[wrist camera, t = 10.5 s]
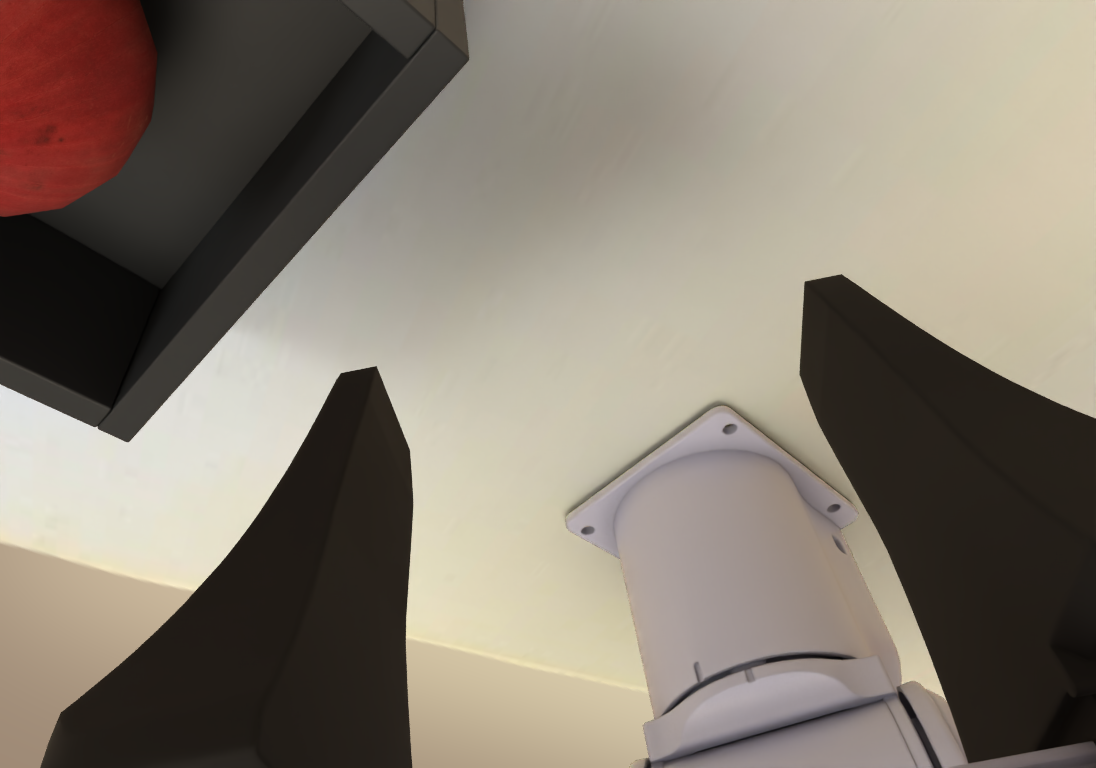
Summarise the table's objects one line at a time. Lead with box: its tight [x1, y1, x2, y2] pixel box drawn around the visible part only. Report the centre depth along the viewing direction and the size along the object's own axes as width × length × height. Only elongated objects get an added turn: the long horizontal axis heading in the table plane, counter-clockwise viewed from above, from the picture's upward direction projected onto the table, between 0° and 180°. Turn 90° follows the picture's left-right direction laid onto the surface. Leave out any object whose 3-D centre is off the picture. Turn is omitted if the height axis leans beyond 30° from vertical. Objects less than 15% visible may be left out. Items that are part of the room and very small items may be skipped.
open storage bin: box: [0, 0, 469, 442], centre depth 17 cm, size 13×13×6 cm
